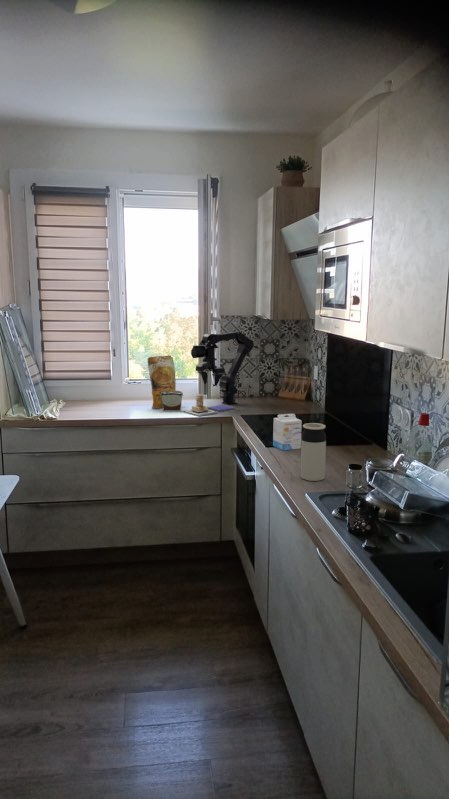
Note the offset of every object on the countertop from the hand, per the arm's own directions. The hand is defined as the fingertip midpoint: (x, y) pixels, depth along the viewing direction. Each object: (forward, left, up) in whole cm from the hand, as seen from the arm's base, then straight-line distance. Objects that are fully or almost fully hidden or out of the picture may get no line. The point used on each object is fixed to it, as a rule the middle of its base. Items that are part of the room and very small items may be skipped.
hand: (210, 384), depth 303 cm
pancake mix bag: (+21, -17, -12) cm, 29 cm away
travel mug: (+51, +118, -12) cm, 129 cm away
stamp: (+15, +10, -11) cm, 22 cm away
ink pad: (+2, +10, -12) cm, 16 cm away
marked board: (+16, +10, -12) cm, 22 cm away
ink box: (+30, +86, -12) cm, 92 cm away
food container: (+22, -6, -12) cm, 25 cm away
